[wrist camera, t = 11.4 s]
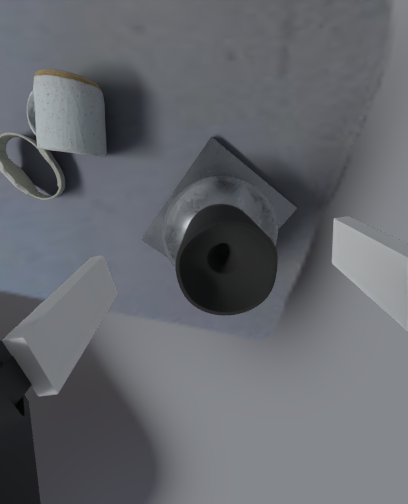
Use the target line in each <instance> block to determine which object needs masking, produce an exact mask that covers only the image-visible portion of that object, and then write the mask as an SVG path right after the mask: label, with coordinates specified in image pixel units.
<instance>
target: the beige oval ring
mask: <svg viewBox="0 0 408 504" xmlns="http://www.w3.org/2000/svg"><path fill="white" fill-rule="evenodd" d="M14 137H22V138H24V139H26V140H27V141H29V142H31V143H32V144H33V145H34V146H35V147H36V148H37V149H38V151H39V152H40V153H41V154H42V156H43V157H44V158H45V160H46V161H47V162H48V163H49V164H50V165H51V167H52V169H53V170H54V172H55V174H56V177H57V182H58V183H57V186H59V189H58V191H57V193H56V194H55V195H54V196H47V195H44V194H42V193H40V192H38V190H37V189H36V187H35V186H34V184H33V182H32V181H31V180H30V178H29V177H28V176H27V175H26V174H25V173H24V171H23V170H22V169H21V168H20V167H18V166H17V165H16V164H15V163H13V162H12V161H11V160H10V159H9V158H8V156H7V153H6V144H7V142H8V141H9V140H10V139H11V138H14ZM0 170H1V171H2V173H3V174H4V175H5V176H6V177H7V178H8V179H9V180H10V181H11V182H12V183H13V184H14V185H15V186H16V188H18V189H19V190H21V191H22V192H24V193H26V194H27V195H28V194H31V196H33V197H35V198H38V199H42V200H48V199H52V198H54V197H57V196H59V195H61V194H62V193H63V191H64V189H65V177H64V174H63V171H62V169H61V167H60V166H59V164H58V163H57V161H55V158H54V157H53V155H52V153H51V152H50V151H49V150H45V149H39V148H38V147H37V142H36V141H35V140H33V139H31V138H29V137H26V136H23V135H20V134H16V133H4V134H1V135H0Z"/></svg>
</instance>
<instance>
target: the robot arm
mask: <svg viewBox="0 0 408 504" xmlns="http://www.w3.org/2000/svg"><path fill="white" fill-rule="evenodd" d="M333 224H334V225H333V246H332V264H333V265H334V266H335V267H337V268H338V269H339V270H340V271H341V272H342V273H343V274H344V275H345V276H347V277H348V278H349V279H350V280H351V281H352V282H353V283H354V284H356V285H357V286H358V287H359V288H360V289H361V290H362V291H363V292H364V293H366V294H367V295H368V296H369V297H370V298H371V299H372V300H373V301H374V302H376V303H377V304H378V305H379V306H380V307H381V308H382V309H383V310H384V311H386V312H387V313H388V314H389V315H390V316H391V317H392V318H393V319H395V320H396V321H397V322H398V323H399V324H400V325H401V326H402V327H403V328H405V329H406V330H407V331H408V243H406V242H404V241H401V240H399V239H397V238H395V237H393V236H391V235H388V234H386V233H384V232H382V231H380V230H378V229H375V228H373V227H371V226H369V225H367V224H365V223H362V222H360V221H358V220H356V219H354V218H352V217H349V216H345V217H339V218H334V223H333ZM117 296H118V293H117V290H116V287H115V285H114V282H113V279H112V277H111V274H110V271H109V269H108V266H107V263H106V260H105V258H104V255H101V256H95V257H91V258H90V259H88V260H87V261H86V262H85V263H84V264H83V265H82V266H81V267H80V268H79V269H78V270H77V271H76V272H75V273H73V274H72V275H71V276H70V277H69V278H68V279H67V280H66V281H65V282H64V283H63V284H62V285H61V286H59V287H58V288H57V289H56V290H55V291H54V292H53V293H52V294H51V295H50V296H49V297H48V298H47V299H45V300H44V301H43V302H42V303H41V304H40V305H39V306H38V307H37V308H36V309H35V310H33V311H32V312H31V313H30V314H29V315H28V316H27V317H26V318H24V320H23V321H21V322H20V323H19V324H18V325H17V326H16V327H15V328H14V329H13V330H12V331H10V332H9V333H8V334H7V335H6V336H5V337H4V338H3V339H2V340H1V341H0V504H41V503H40V494H39V485H38V477H37V469H36V459H35V452H34V442H33V434H32V425H31V417H30V408H29V401H28V399H27V398H26V396H25V395H24V394H25V393H26V391H27V390H28V389H29V387H30V386H32V387H33V389H34V390H35V392H36V393H37V395H38V396H46V395H54V394H58V393H59V391H60V389H61V388H62V386H63V384H64V383H65V381H66V379H67V378H68V376H69V375H70V373H71V371H72V370H73V368H74V366H75V365H76V363H77V361H78V360H79V358H80V356H81V355H82V353H83V352H84V350H85V348H86V347H87V345H88V343H89V342H90V340H91V338H92V337H93V335H94V333H95V332H96V330H97V329H98V327H99V325H100V323H101V322H102V320H103V319H104V317H105V315H106V314H107V312H108V310H109V309H110V307H111V305H112V304H113V302H114V301H115V299H116V297H117Z"/></svg>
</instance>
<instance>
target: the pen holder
mask: <svg viewBox="0 0 408 504" xmlns="http://www.w3.org/2000/svg"><path fill="white" fill-rule="evenodd" d="M175 266H176V275H177V279H178V283H179V285H180V288H181V290H182V292H183V294H184V296H185V297H186V298H187V300H188V301H189V302H190V303H191V304H192V305H194V306H195V307H197V308H198V309H200V310H202V311H205V312H208V313H211V314H215V315H235V314H240V313H243V312H246V311H249V310H251V309H253V308H255V307H256V306H258V305H259V304H261V303H262V302H263V301H264V300H265V299H266V298H267V297H268V295H269V294H270V292H271V290H272V288H273V285H274V282H275V278H276V272H277V251H276V247H275V245H274V243H273V242H272V240H271V239H270V237H269V236H268V235H267V234H266V233H265V232H264V231H263V230H262V229H261V228H260V227H259V226H258V225H257V224H256V223H255V222H254V221H253V220H252V219H251V218H250V217H249V216H248V215H247V214H246V213H244V212H243V211H242V210H241V209H239V208H237V207H235V206H232V205H229V204H213V205H210V206H207V207H205V208H203V209H201V210H200V211H199V212H197V213H196V214H195V215H194V217H193V218H192V219H191V221H190V223H189V224H188V227H187V229H186V232H185V234H184V237H183V239H182V242H181V245H180V247H179V250H178V253H177V256H176V263H175Z"/></svg>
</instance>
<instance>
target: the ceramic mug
mask: <svg viewBox="0 0 408 504" xmlns="http://www.w3.org/2000/svg"><path fill="white" fill-rule="evenodd" d="M27 118H28V122H29V125H30V128H31V130H32V131H33V133H34V134H35V135H36V139H37V147H38V148H39V149H45V150H53V151H61V152H70V153H76V154H86V155H94V156H102V157H106V155H107V150H106V128H105V104H104V98H103V93H102V90H101V88H100V87H99V86H98V85H97V84H96V83H95V82H93V81H92V80H90V79H87V78H85V77H83V76H80V75H77V74H74V73H70V72H66V71H61V70H55V69H42V70H39V71H38V72H36V73H35V76H34V84H33V91H32V92H31V93H30V95H29V98H28V101H27Z"/></svg>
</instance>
